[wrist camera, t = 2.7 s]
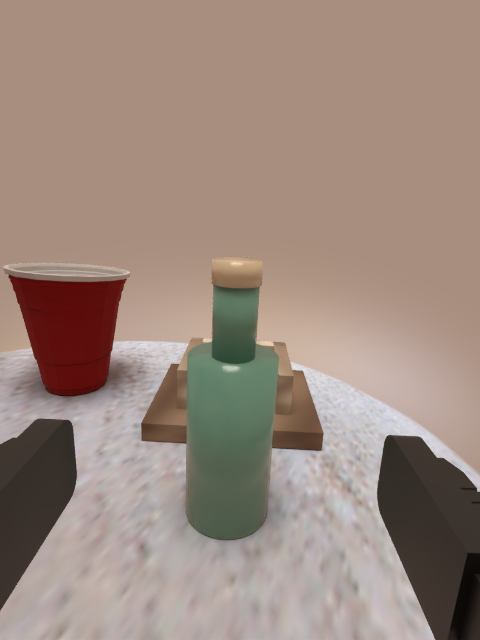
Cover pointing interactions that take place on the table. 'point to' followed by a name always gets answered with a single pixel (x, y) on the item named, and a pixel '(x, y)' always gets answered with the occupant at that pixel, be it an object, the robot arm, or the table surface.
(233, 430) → the green bottle
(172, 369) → the bottle cradle
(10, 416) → the table surface
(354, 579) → the table surface
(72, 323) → the plastic cup
